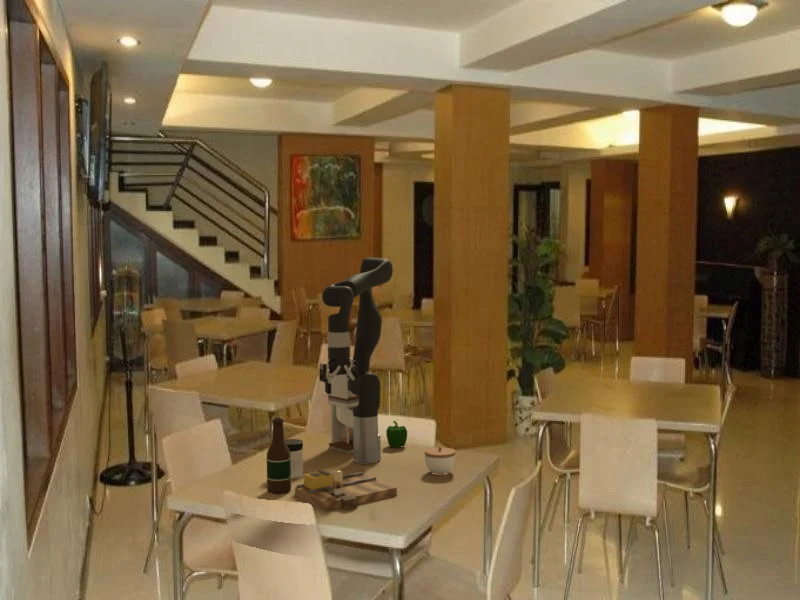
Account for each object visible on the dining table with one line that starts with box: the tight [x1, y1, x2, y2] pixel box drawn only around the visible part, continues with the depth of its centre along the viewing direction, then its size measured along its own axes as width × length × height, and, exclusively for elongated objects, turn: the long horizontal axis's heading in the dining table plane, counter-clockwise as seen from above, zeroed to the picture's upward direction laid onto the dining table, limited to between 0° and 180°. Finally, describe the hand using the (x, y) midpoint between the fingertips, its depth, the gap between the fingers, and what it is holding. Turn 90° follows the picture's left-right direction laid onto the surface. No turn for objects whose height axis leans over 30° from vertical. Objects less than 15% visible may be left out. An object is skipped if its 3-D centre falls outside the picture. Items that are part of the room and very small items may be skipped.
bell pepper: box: [385, 420, 408, 448], centre depth 335 cm, size 8×8×10 cm
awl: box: [332, 469, 344, 497], centre depth 265 cm, size 3×3×10 cm
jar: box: [284, 438, 304, 480], centre depth 295 cm, size 9×8×12 cm
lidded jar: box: [424, 445, 456, 474], centre depth 297 cm, size 11×11×9 cm
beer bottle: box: [266, 417, 292, 495], centre depth 277 cm, size 8×8×24 cm
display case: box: [327, 357, 359, 454], centre depth 332 cm, size 11×11×35 cm
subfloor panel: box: [294, 471, 398, 512], centre depth 272 cm, size 26×26×3 cm
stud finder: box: [303, 469, 333, 490], centre depth 273 cm, size 7×6×4 cm
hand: (339, 392), depth 288 cm, fingers open, 8 cm apart
